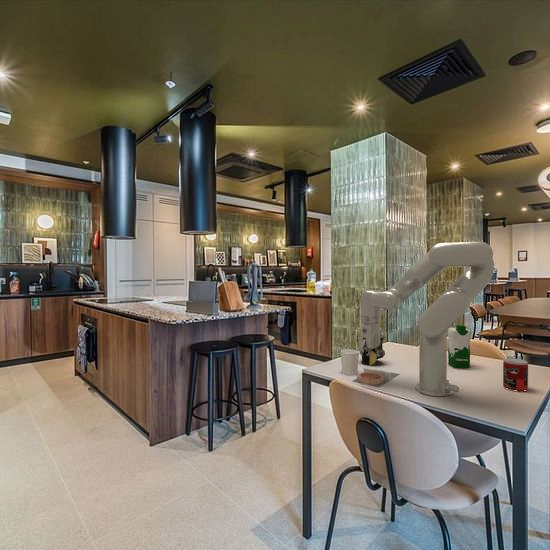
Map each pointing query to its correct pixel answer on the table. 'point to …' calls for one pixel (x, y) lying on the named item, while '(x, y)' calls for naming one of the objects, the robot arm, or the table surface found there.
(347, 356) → the white cup
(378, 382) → the saucer
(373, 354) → the ball
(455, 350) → the milk carton
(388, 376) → the white thin block
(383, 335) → the apothecary jar
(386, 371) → the mat
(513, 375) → the canned food
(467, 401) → the table surface
